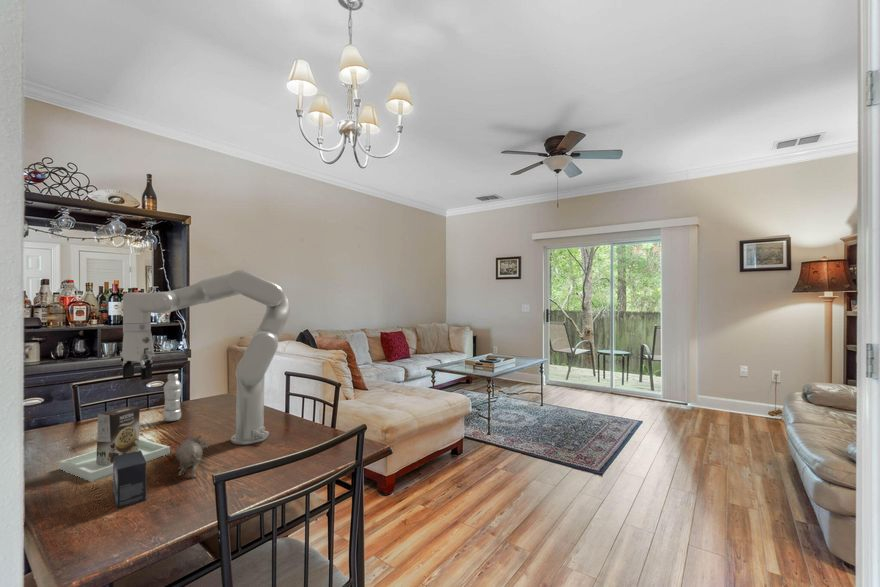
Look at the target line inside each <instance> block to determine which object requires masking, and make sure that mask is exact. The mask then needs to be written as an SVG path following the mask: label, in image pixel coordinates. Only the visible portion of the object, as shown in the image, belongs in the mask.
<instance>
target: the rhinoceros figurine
mask: <svg viewBox="0 0 880 587" xmlns="http://www.w3.org/2000/svg"><path fill="white" fill-rule="evenodd" d="M201 438H202V436H201V435H198V436H197V437H194V436H193V434H191V435H190V436H188V437H187V438H186V439H184V440H183V441H182V443H181V444H180V445H178V448H177V450H176V452H175V459H176V460H177V461H178V462H179V467H177V470H179V469H181V470H179V471H178V473H179V474H183V473H185V474H186V472H187V470H188V468H191V467H192V468H191V472H190V476H191V477H190V476H189V477H190V478H192V477H196V476H197V474H196V471H197V469H198V467H199V465H200V463H202V458H203V454H204V453H203V452H204V451H203V450H204V449H208V445H209V444H210V442H211V437H209V439H208V440H205V439H201ZM200 439H201V440H200ZM178 473H177V474H178ZM183 475H184V474H183ZM196 478H197V477H196Z"/></svg>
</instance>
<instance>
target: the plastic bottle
mask: <svg viewBox="0 0 880 587" xmlns="http://www.w3.org/2000/svg"><path fill="white" fill-rule="evenodd" d="M182 388H183V384H182V383H181V382H180V380H179V373H169V374H167V381H166V382H165V384H164V386H163V394H164V408H163V413H162V419H163V421H164V422H175V421H178V420H179V419H181V417H182V409H181V394H182Z"/></svg>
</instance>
